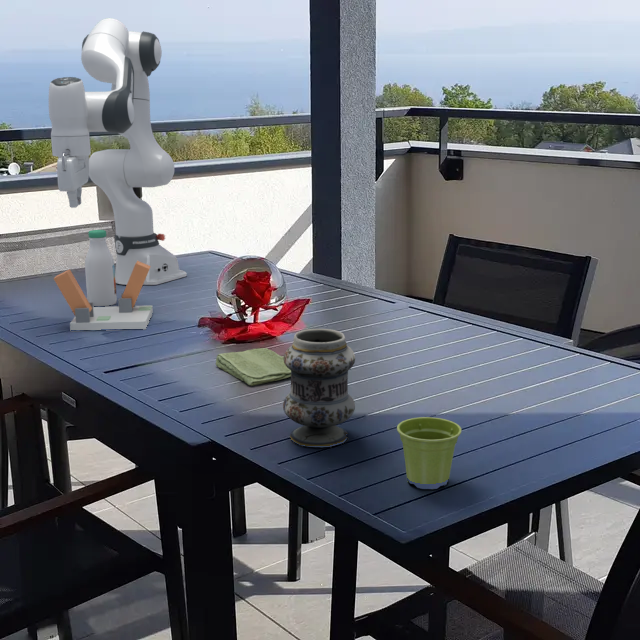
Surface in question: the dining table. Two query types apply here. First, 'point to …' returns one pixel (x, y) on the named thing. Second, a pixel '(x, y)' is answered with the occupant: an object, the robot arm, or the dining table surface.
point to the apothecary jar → (319, 386)
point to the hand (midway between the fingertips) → (75, 206)
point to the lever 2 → (136, 281)
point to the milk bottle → (100, 271)
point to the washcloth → (254, 365)
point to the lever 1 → (72, 291)
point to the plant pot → (428, 448)
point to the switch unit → (112, 316)
